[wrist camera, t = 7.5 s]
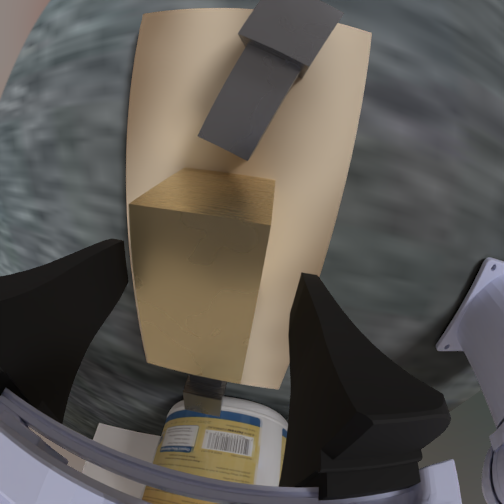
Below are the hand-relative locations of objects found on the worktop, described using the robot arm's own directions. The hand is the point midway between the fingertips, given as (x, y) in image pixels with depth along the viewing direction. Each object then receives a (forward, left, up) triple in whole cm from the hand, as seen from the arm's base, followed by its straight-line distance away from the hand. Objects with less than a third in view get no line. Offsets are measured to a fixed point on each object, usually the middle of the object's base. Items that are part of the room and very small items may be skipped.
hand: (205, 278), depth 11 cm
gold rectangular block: (0, 0, -3) cm, 3 cm away
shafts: (-1, 0, -3) cm, 3 cm away
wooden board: (0, 0, -4) cm, 4 cm away
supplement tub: (-2, +20, -4) cm, 21 cm away
